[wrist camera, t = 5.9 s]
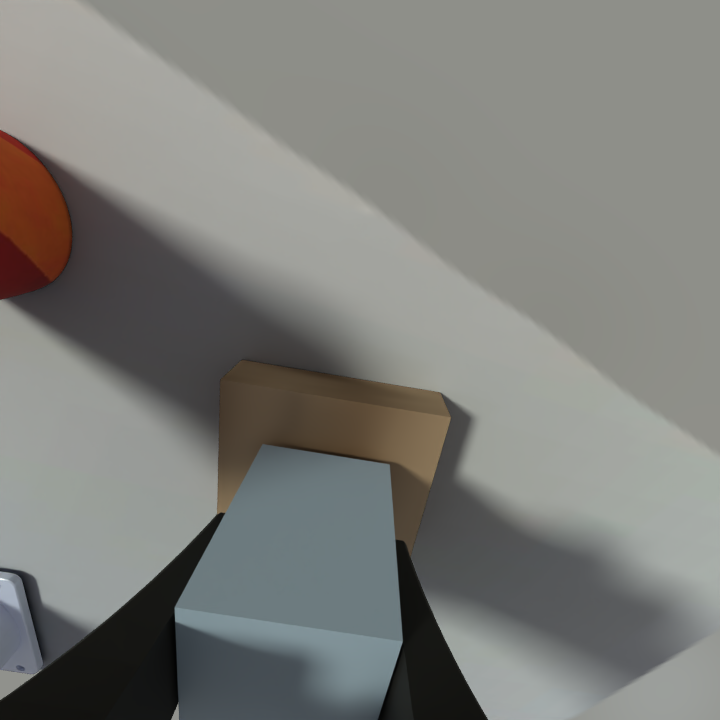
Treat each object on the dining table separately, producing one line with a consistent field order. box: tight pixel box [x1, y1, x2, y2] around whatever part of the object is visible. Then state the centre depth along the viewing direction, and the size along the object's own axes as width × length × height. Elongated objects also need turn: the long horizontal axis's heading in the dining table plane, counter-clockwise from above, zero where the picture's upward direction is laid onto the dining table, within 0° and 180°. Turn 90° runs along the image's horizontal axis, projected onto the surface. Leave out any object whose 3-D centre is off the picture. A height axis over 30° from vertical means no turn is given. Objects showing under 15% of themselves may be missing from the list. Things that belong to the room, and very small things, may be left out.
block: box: [175, 444, 403, 720], centre depth 10 cm, size 4×4×6 cm
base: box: [217, 360, 451, 557], centre depth 14 cm, size 8×8×2 cm
